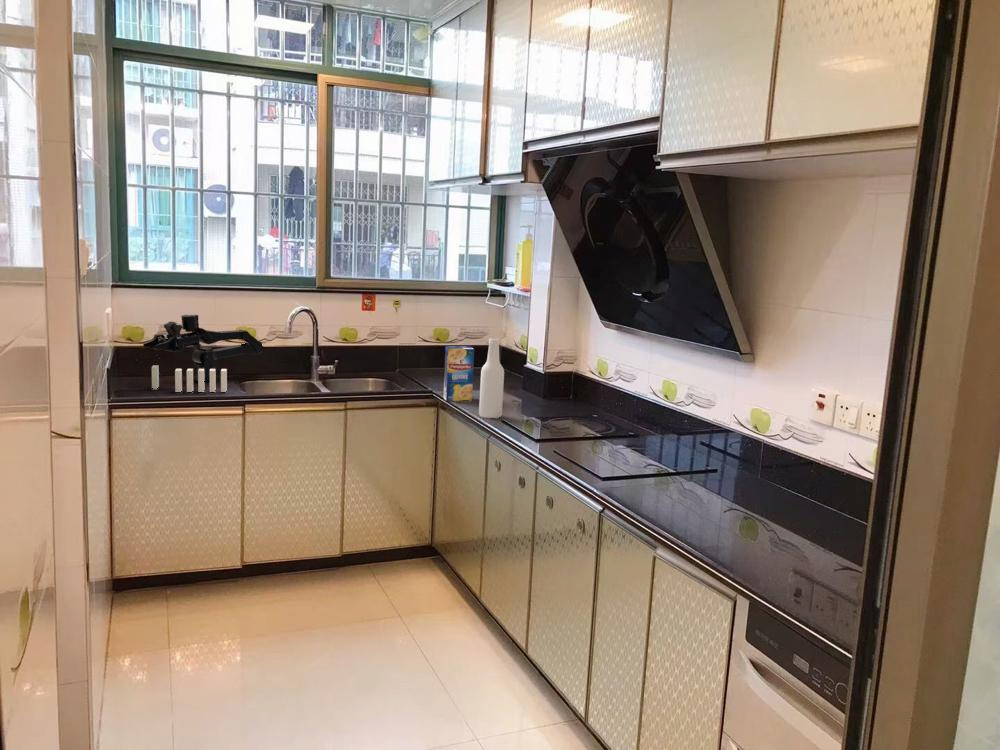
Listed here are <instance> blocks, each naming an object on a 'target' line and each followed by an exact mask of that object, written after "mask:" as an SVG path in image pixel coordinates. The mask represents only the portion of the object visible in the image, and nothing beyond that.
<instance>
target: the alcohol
mask: <svg viewBox="0 0 1000 750" xmlns="http://www.w3.org/2000/svg"><path fill="white" fill-rule="evenodd" d="M504 381H505V370H504V367H503V365H502V364H501V362H500V339H499V338H495V337H494V338H493V337H492V338H489V339H488V351H487V358H486V361H485V364H483V365H482V367H481V370H480V386H479V405H478V406H479V407H478V414H479V416H480V417H481V418H484V419H490V418H495V419H499V417H500V418H501V417H502V416H503V402H504V401H503V399H504V384H505V383H504Z"/></svg>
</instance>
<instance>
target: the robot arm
mask: <svg viewBox="0 0 1000 750" xmlns="http://www.w3.org/2000/svg"><path fill="white" fill-rule="evenodd" d="M180 317H181V324H177V322H175V321H168V322H167V323H165V324H164V325H163V328H164V329H165V331H166V333H167V334H166V336H165V335H164V334H160V333H159V334H154V335H153V338H152V339H151V340H150V341H147V342H145V343H143V344H142V346H143V348H148V349H153V350H158V351H160V350H161V351H162V350H163V351H168V352H172V353H181V352H183V351H184V350H185V349H186V348H187V347H188V348H189V347H192V349H193V352H192V353H191V358H192V361H193V362H194V364H195V366H196V368H197V369H196V378H195V379H196V381H198V370H199V369H204V381H207V382H210V369H215V368H217V364H218V361H217V360H218V359H224V358H228V357H233V356H238V355H244V354H245V355H246V354H248V355H259V354H261V353H262V352H263V351H264V345H263V346H262V344H263V343H262V341H259V340H258V339H257V338H256V337H254V336H253V335H252V334H250V332H249V331H248V330H245V329H236V330H221V331H215V330H208V329H204V328H202V327H199V325H200V324H199V315H198V314H183V315H180ZM182 330H183V331H185V333H181V331H182ZM240 339H244V340H245V341H246V342H248V343H245V344H242V343H240V344H241V345H240V344H238V345H232V346H226V347H221V348H216V349H215V348H214V347H211V346H202V344H207V345H212V344H216V343H217V342H221V341H234V340H240Z"/></svg>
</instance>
